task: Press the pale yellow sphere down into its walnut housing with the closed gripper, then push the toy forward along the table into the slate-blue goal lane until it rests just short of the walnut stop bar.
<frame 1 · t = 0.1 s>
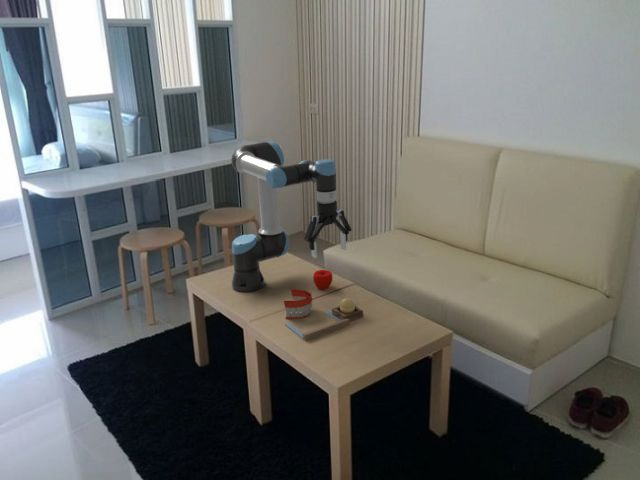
hand: (329, 253, 224), 28 cm above the table, fingers open, 13 cm apart
goal lane: (315, 324, 228), on the table
apple: (323, 288, 260), on the table
toy: (300, 313, 238), on the table
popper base: (347, 316, 233), on the table
pale yellow sphere: (347, 305, 231), point 5 cm above the table, slide at 0.0 cm
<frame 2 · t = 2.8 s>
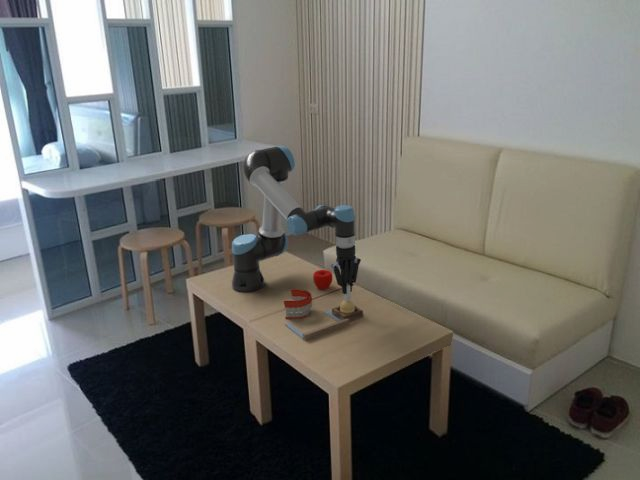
hand: (347, 299, 231), 7 cm above the table, fingers closed
pale yellow sphere: (347, 307, 232), point 4 cm above the table, slide at 0.9 cm, touching gripper
everything else where it was.
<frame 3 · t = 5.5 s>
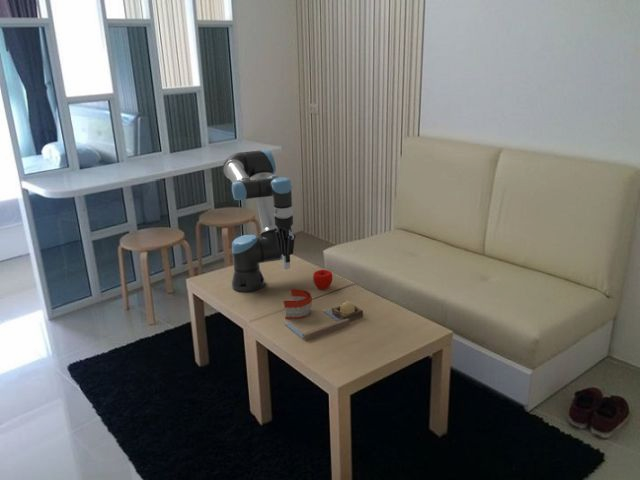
hand: (286, 268, 242), 16 cm above the table, fingers closed
pale yellow sphere: (347, 308, 232), point 3 cm above the table, slide at 1.6 cm
everything else where it was.
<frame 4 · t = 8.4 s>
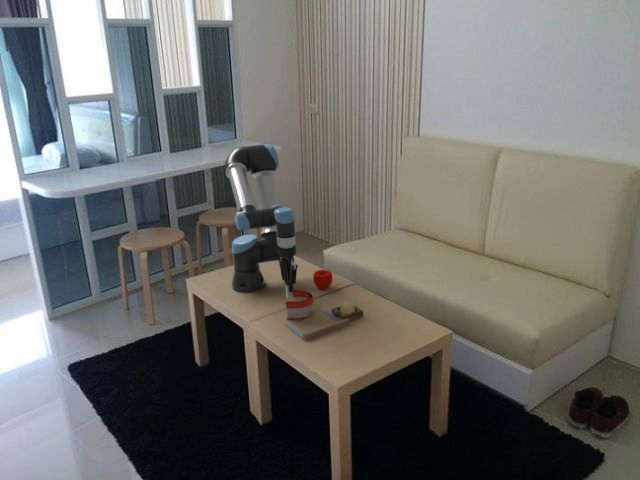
hand: (289, 297, 242), 4 cm above the table, fingers closed
toy: (301, 314, 237), on the table, touching gripper
everything else where it was.
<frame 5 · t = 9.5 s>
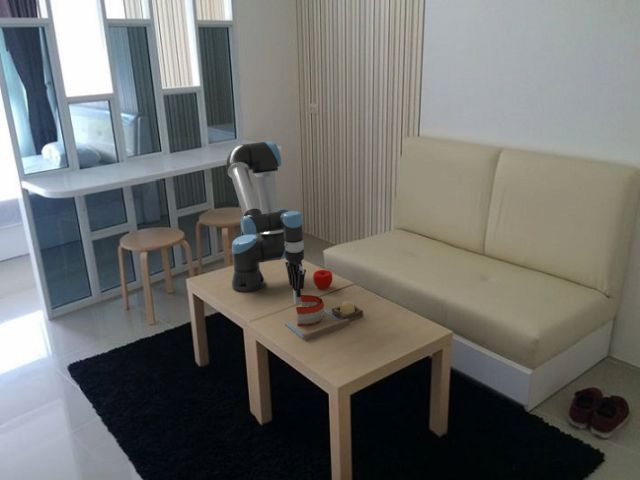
hand: (297, 302, 237), 4 cm above the table, fingers closed
toy: (311, 319, 232), on the table, touching gripper
everything else where it was.
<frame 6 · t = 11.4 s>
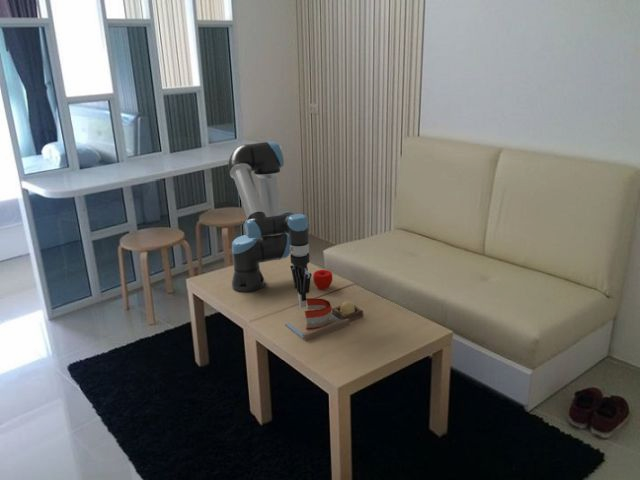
hand: (302, 306, 234), 4 cm above the table, fingers closed
toy: (319, 323, 229), on the table
everything else where it was.
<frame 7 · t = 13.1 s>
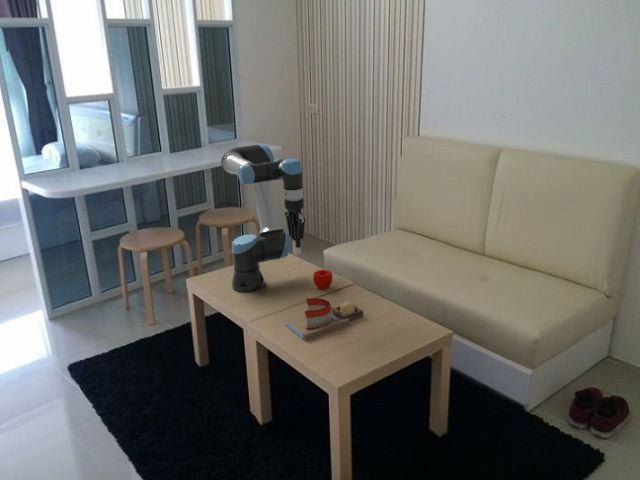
hand: (297, 253, 235), 24 cm above the table, fingers closed
nothing on the table moved.
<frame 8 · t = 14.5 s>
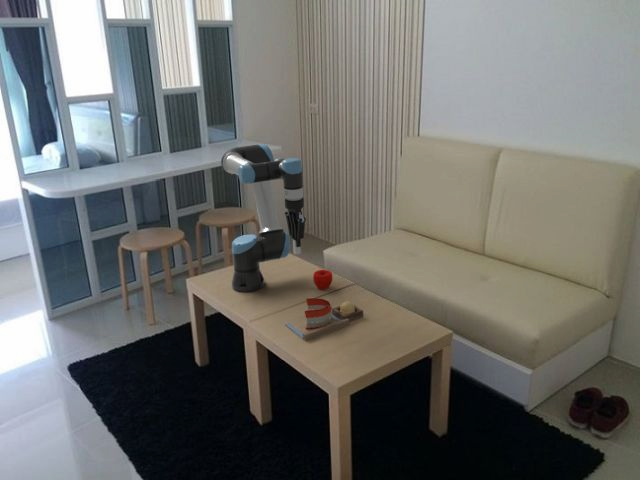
hand: (297, 253, 235), 24 cm above the table, fingers closed
nothing on the table moved.
at the end: toy inside the target area (2.2 cm from its centre), on the table; pale yellow sphere slide at 1.6 cm; toy moved 11.6 cm from its start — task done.
